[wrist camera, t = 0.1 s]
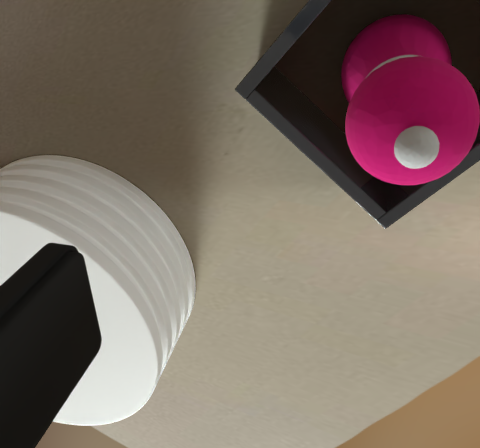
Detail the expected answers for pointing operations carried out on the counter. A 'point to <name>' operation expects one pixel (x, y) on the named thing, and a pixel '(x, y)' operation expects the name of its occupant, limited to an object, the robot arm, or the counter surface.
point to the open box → (331, 131)
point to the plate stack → (104, 272)
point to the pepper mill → (406, 102)
